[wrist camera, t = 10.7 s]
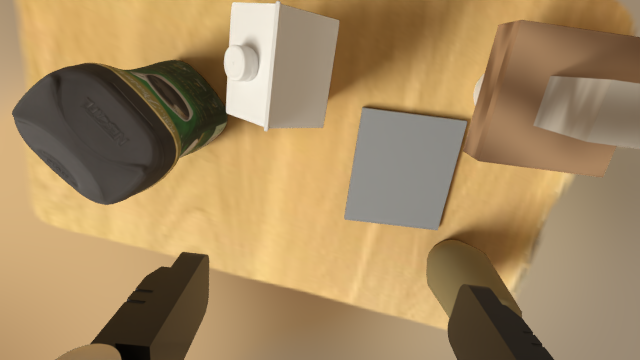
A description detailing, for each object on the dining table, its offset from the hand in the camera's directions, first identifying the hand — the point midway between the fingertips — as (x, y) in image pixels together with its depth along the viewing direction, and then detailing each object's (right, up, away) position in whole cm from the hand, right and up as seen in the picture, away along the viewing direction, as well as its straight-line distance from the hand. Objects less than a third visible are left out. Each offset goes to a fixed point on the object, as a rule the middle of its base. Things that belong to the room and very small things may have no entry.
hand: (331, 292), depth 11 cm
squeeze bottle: (+17, -7, +35) cm, 39 cm away
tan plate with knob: (+20, +11, +20) cm, 30 cm away
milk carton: (-3, +16, +26) cm, 31 cm away
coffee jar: (-16, +12, +28) cm, 34 cm away
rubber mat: (+10, +5, +30) cm, 32 cm away
